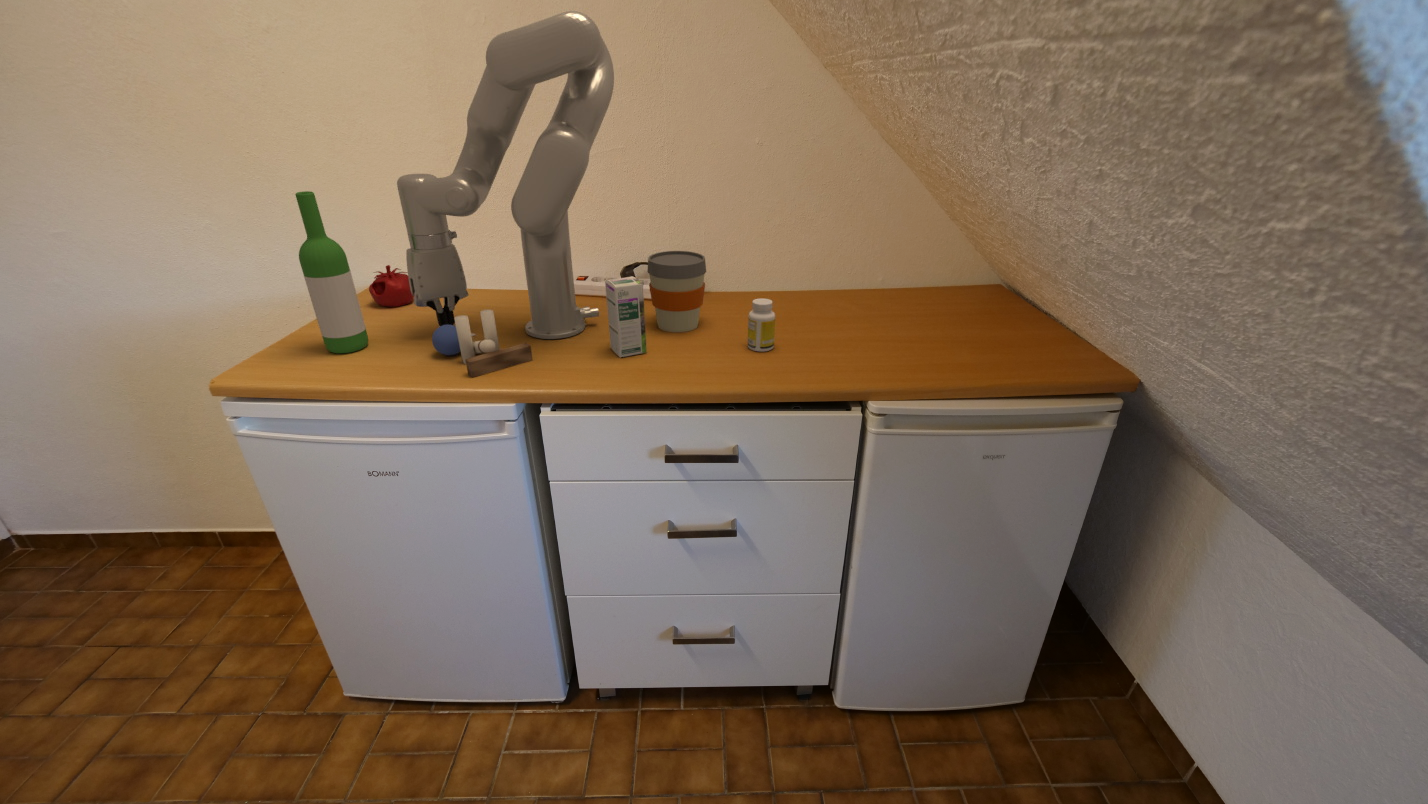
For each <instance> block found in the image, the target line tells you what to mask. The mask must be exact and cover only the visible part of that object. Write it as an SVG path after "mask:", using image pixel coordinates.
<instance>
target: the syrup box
mask: <svg viewBox="0 0 1428 804" xmlns="http://www.w3.org/2000/svg"><path fill="white" fill-rule="evenodd" d="M604 282H605V283H604V284H605V296H606V304H607V305H606V307H607V308H606V309H607V317H608V318H607V319H608V334H609V340H610V341H609V342H610V349H611V350H612V351H613V352H614V353H615V354H616V355H617V356H618V357H619V358H620V359H622V358H621V357H623V358H624V357H625V358H626V357H630V356H634V355H635V356H636V355H640V354H641V355H642V354H646V353H647V337H646V335H647V334H646V333H647V332H646V317H645V314H646V313H645V297H644V296H645V295H644V284H643V282H642V281H641V280H639V279H638V278H636V277H634V276H627V277H619V278H614V279H613V278H612V279H605V281H604Z"/></svg>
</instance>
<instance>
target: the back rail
mask: <svg viewBox="0 0 1428 804" xmlns="http://www.w3.org/2000/svg"><path fill="white" fill-rule="evenodd" d="M533 360H534V359H533V352H532V346H531V345H530V344H529V343H527V342H524V343H519V344H516V345H513V346H510V347H505V348H502V349H500V350H497V351H494V352H490V353H482V354H479V355H475V357H472V358H468V359H465V361H466V364H465V365H466V371H467V375H468V376H469V377H471V378H473V379H474V378H476V377H479V376H483V375H486V373H487V374H490V373H493V372H496V371H500V370H503V369H507V368H511V367H514V366H516V365H521V364H525V363H527V362H531V361H533Z"/></svg>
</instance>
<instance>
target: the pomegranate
mask: <svg viewBox="0 0 1428 804" xmlns="http://www.w3.org/2000/svg"><path fill="white" fill-rule="evenodd" d="M385 270H386V272H383V271H379V270H378V271H375V272H373V273H379V274H376V275H375V276H374V277H373V279H374V280H373V282H372V283H371V284H370V285H369V287H368V291H369V294H370V296H371V298H372V299H373V301H374V302H375V303H376V304H378V305H379V306H382V307H387V308H388V307H389V308H391V307H392V308H395V307H398V306H399V307H402V306H405V305H406V306H407V305H408V304H410V303H413V301H414V295H412V293H411V290H410V285H409V279H408V271H407V272H406V271H401V270H403V269H402V268H398V267H396V268H394V269H393V270H392V271H391V265H390V264H387V265H385ZM398 270H399V272H396V271H398Z"/></svg>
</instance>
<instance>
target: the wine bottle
mask: <svg viewBox="0 0 1428 804" xmlns="http://www.w3.org/2000/svg"><path fill="white" fill-rule="evenodd" d="M294 195H295V198H296V202H297V205H298V208H299V213H300V216H301V218H302V219H301V220H302V223H303V226H304V229H305V233H306V239H305V241H304V242H303V243H302V244H301V246H300V248H299V251H298V260H299V264H300V266H301V270H302V274H303V277H304V281H305V284H306V287H307V291H308V294H309V298H310V301H311V304H312V308H313V311H314V314H315V317H316V321H317V324H318V328H319V330H320V331H319V332H320V333H321V337H322V339H323V343H324V345H325V348H326V350H327V351H329V352H330V353H333V354H351V353H354V352H357V351H360V350H362V349H364V348H366V347H367V346H368V344H369V335H368V331H367V328H366V323H365V320H364V317H363V312H362V309H361V305H360V302H359V298H358V295H357V294H358V293H357V290H356V287H355V283H354V280H353V276H352V272H351V269H350V265H349V262H348V258H347V257H348V256H347V255H346V252H345V251H344V249H343V247H342V246H341V245H340V244H339V243H338V242H337V241H336V240H334V239H333V238H330V237H329V236H328V235H327V234H326V229H325V226H324V223H323V220H322V216H321V213H320V210H319V205H318V201H317V199H316V195H315V193H314V192H313V191H310V190H309V191H307V190H306V191H299V192H296V193H295V194H294Z"/></svg>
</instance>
